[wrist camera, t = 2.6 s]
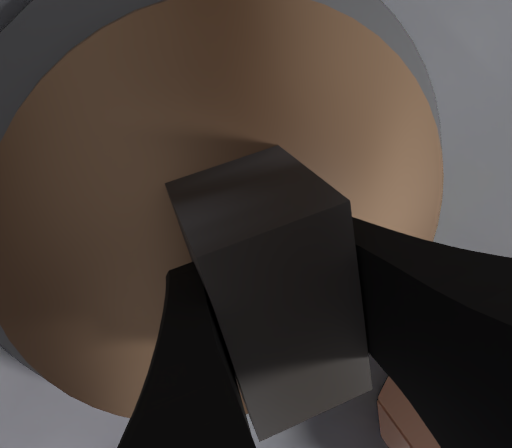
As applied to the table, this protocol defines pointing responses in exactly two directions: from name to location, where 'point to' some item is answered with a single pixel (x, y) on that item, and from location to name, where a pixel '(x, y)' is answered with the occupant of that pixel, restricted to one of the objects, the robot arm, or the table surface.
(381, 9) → the coaster
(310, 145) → the lid
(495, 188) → the table surface
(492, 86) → the table surface
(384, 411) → the bowl
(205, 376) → the robot arm
